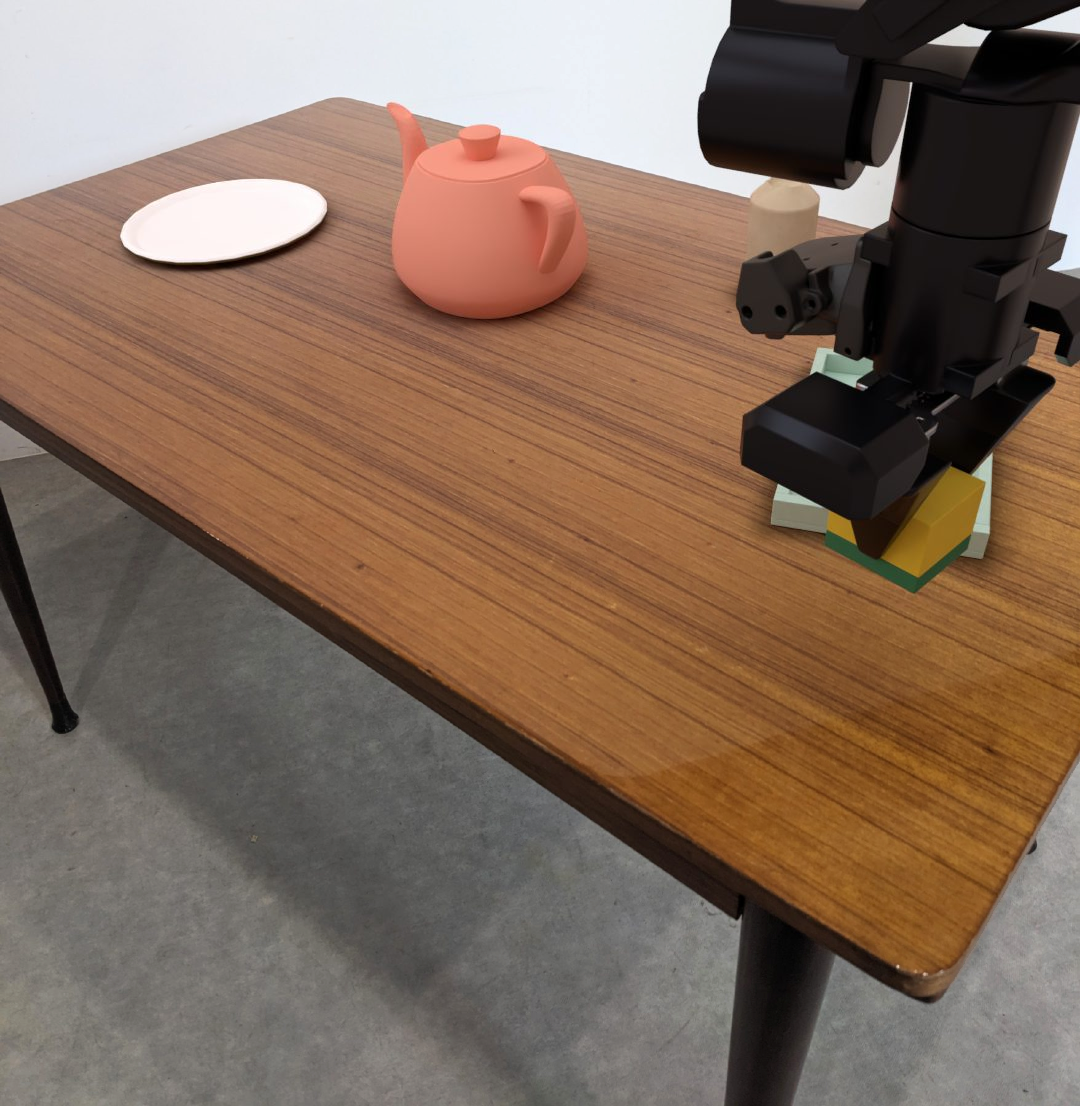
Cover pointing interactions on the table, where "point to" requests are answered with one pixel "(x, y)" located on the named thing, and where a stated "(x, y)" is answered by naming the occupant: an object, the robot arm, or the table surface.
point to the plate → (224, 221)
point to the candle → (781, 216)
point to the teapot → (484, 223)
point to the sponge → (920, 533)
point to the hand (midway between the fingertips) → (899, 530)
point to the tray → (815, 517)
